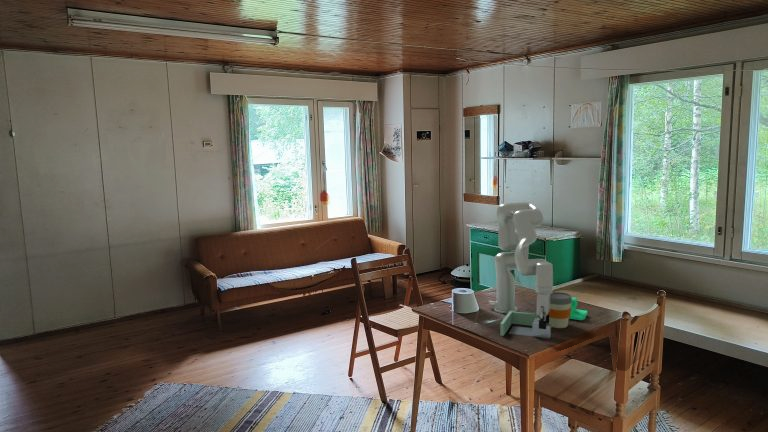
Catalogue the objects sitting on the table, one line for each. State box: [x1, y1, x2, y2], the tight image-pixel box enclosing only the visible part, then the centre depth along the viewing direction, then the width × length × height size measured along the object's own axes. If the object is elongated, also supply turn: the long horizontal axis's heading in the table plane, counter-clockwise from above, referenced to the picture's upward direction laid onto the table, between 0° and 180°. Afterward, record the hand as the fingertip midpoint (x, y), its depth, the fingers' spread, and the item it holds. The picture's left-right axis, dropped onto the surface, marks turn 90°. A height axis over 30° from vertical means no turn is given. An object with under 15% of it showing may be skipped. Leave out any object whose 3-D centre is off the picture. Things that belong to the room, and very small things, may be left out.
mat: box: [508, 325, 535, 338], centre depth 253 cm, size 12×11×1 cm
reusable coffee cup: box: [547, 291, 573, 329], centre depth 259 cm, size 13×12×15 cm
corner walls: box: [499, 311, 540, 337], centre depth 253 cm, size 16×20×6 cm
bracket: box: [531, 318, 552, 339], centre depth 248 cm, size 8×8×6 cm
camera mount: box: [569, 297, 588, 321], centre depth 270 cm, size 12×8×10 cm, turn 145°
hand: (544, 325), depth 244 cm, fingers open, 9 cm apart
